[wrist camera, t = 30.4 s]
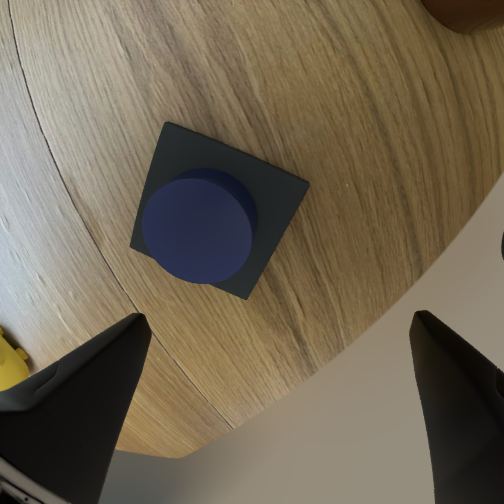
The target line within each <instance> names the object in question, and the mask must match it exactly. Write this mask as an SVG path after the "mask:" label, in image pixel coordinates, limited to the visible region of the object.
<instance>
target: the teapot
mask: <svg viewBox="0 0 504 504" xmlns="http://www.w3.org/2000/svg"><path fill="white" fill-rule="evenodd" d="M3 334H4V332H3V330H2V328H1V327H0V391H3V390H6V389H9V388H11V387H12V386H14V385H16V384H18V383H20V382H22V381H24V380H25V379H27V378H28V376H29V369H28V367H27V365H26V363H25V362H24V361H23V360H25V359H28V356H27V354H26V353H25V352H24V351H23V350H22V349H21V348H17V349H16V350H14V349H13V348H12V347H11V346H10V345H9V344H8V342H7V341H6V340H5V339H4V338H3V337H2V336H3Z"/></svg>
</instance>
